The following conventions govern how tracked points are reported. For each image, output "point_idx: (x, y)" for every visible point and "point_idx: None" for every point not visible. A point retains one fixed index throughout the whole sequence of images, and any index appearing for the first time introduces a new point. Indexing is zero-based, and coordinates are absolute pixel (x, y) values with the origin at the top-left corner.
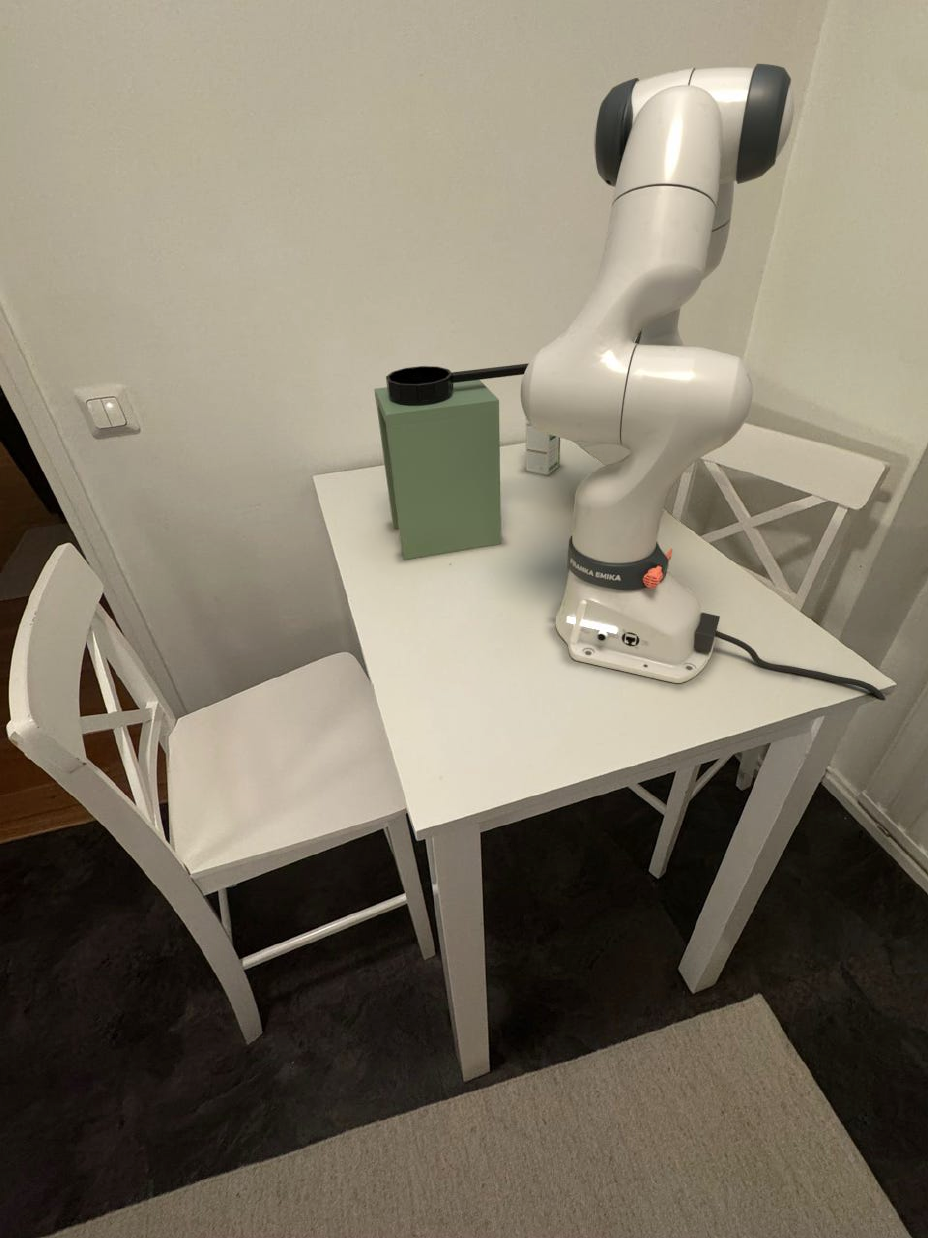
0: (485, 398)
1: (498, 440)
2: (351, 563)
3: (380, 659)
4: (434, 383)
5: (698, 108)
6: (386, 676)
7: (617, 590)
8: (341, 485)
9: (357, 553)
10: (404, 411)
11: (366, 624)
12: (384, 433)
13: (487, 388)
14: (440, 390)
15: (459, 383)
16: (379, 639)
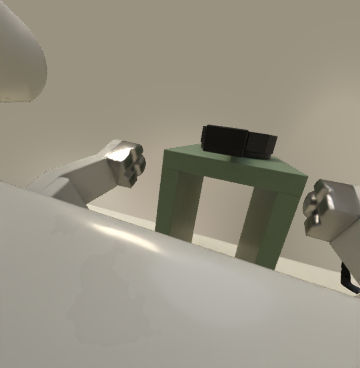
0: (181, 150)
1: (158, 203)
2: (197, 235)
3: (113, 212)
4: (203, 126)
5: None
6: (102, 209)
7: None
8: (338, 281)
9: (207, 241)
10: (197, 144)
11: (139, 218)
12: (253, 191)
13: (222, 160)
14: (203, 136)
15: (266, 163)
16: (124, 216)
